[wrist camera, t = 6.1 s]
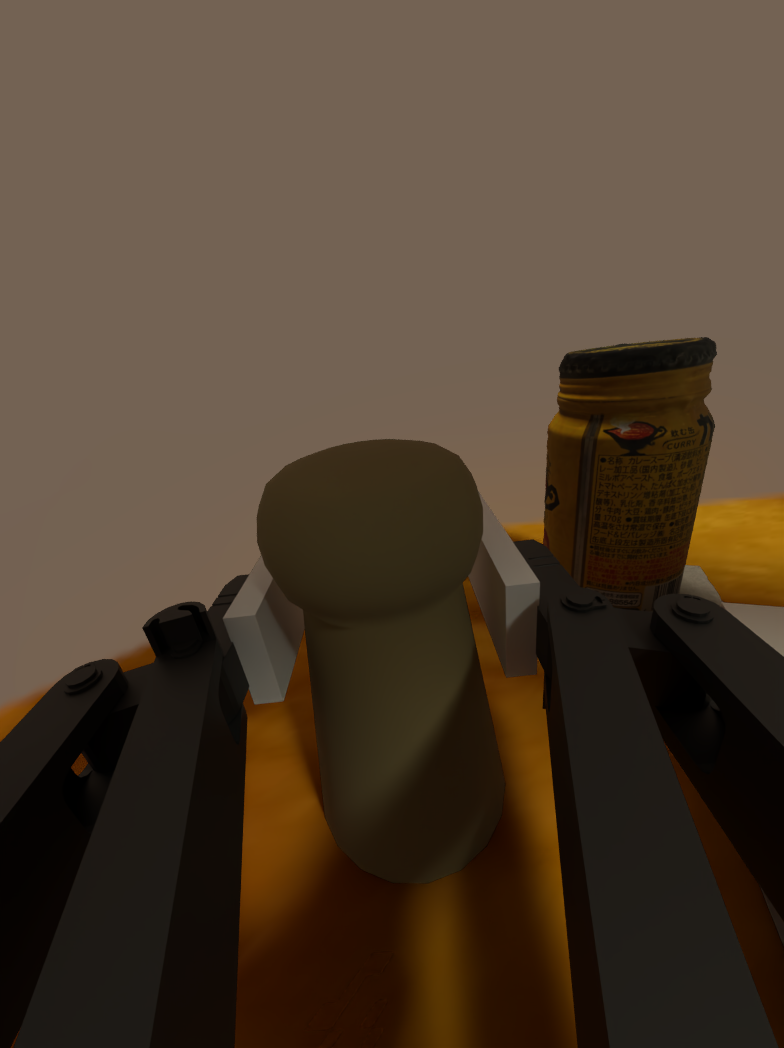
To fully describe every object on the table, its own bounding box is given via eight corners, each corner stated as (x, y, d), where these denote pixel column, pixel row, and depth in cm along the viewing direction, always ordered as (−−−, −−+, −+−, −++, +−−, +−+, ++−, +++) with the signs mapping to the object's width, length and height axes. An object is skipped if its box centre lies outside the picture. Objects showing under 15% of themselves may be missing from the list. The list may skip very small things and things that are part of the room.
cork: (354, 691, 16) (295, 431, 12) (502, 704, 15) (498, 412, 10) (290, 860, 11) (141, 506, 7) (510, 908, 10) (510, 490, 5)
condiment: (534, 560, 24) (540, 351, 19) (699, 568, 21) (755, 325, 16) (534, 639, 18) (543, 361, 13) (766, 666, 15) (889, 322, 10)
